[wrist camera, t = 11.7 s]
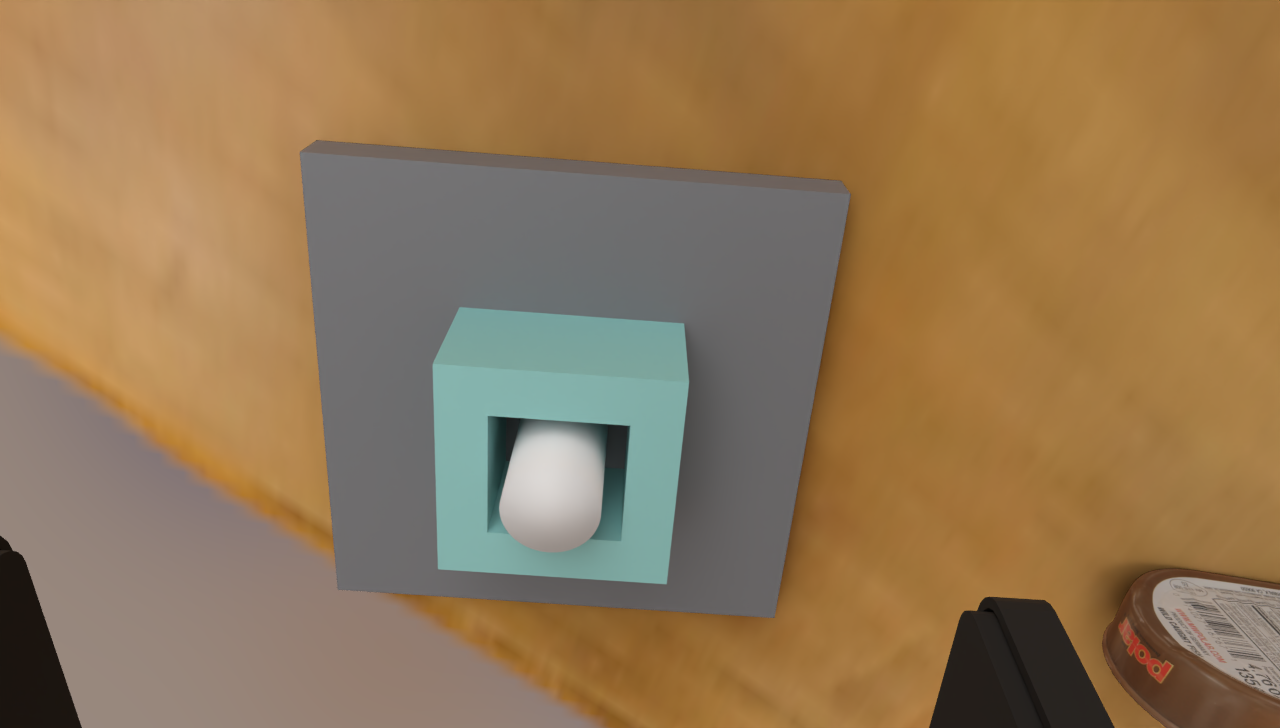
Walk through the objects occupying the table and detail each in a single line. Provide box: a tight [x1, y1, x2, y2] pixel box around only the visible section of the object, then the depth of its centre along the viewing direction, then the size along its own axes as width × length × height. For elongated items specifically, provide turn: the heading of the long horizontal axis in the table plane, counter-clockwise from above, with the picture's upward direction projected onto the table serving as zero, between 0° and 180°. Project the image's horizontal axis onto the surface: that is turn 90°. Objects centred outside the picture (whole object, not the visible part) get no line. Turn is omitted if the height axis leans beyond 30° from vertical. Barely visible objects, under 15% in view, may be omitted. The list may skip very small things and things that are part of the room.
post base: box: [300, 140, 851, 618], centre depth 29 cm, size 16×16×7 cm
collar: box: [433, 307, 689, 584], centre depth 29 cm, size 7×7×4 cm
